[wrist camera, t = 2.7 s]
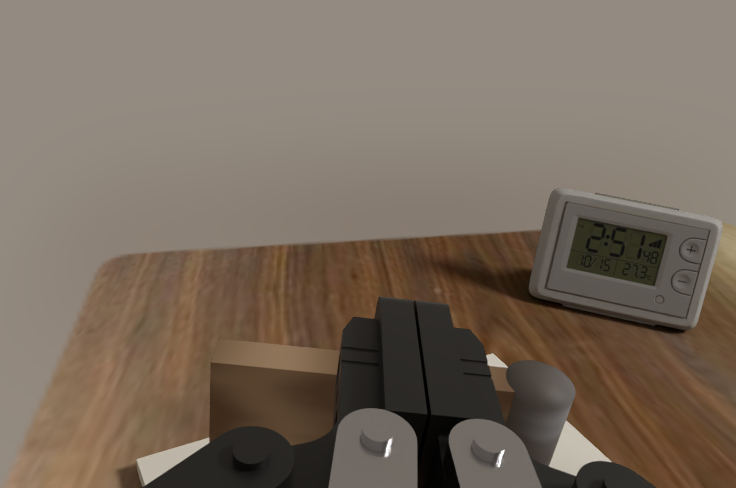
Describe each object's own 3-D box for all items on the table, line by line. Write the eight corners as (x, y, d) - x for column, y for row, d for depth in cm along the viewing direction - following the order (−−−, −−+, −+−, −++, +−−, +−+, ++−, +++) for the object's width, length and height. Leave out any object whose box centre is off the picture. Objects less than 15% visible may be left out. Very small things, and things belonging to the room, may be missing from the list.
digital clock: (517, 298, 62) (546, 199, 57) (534, 260, 70) (560, 170, 65) (693, 354, 57) (741, 252, 52) (690, 307, 65) (731, 214, 60)
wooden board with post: (682, 564, 36) (782, 386, 30) (707, 617, 33) (823, 433, 27) (216, 526, 34) (221, 329, 28) (204, 579, 31) (206, 373, 25)
